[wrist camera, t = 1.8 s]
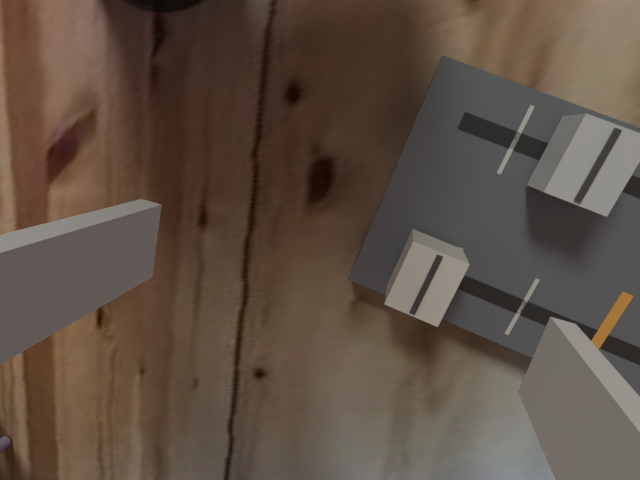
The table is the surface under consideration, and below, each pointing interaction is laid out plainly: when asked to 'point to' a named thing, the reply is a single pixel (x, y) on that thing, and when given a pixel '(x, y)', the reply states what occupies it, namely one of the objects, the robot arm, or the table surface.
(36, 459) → the table surface
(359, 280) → the console
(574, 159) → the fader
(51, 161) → the table surface
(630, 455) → the robot arm
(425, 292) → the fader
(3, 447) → the toy sheep
